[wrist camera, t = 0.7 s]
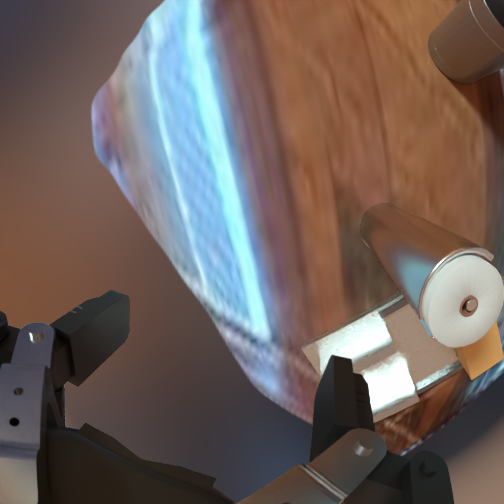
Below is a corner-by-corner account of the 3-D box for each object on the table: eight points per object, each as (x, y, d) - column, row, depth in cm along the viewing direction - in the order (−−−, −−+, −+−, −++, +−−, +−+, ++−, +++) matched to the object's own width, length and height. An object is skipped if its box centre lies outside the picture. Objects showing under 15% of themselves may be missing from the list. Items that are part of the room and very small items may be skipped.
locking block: (467, 268, 36) (485, 281, 30) (488, 340, 37) (503, 358, 32) (434, 291, 37) (448, 307, 32) (459, 360, 39) (471, 380, 34)
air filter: (408, 248, 38) (505, 340, 15) (362, 255, 40) (421, 362, 16) (403, 199, 37) (515, 243, 13) (356, 206, 38) (423, 260, 15)
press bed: (466, 247, 37) (488, 259, 30) (494, 338, 39) (511, 358, 33) (301, 343, 45) (299, 368, 38) (351, 417, 47) (354, 443, 40)
